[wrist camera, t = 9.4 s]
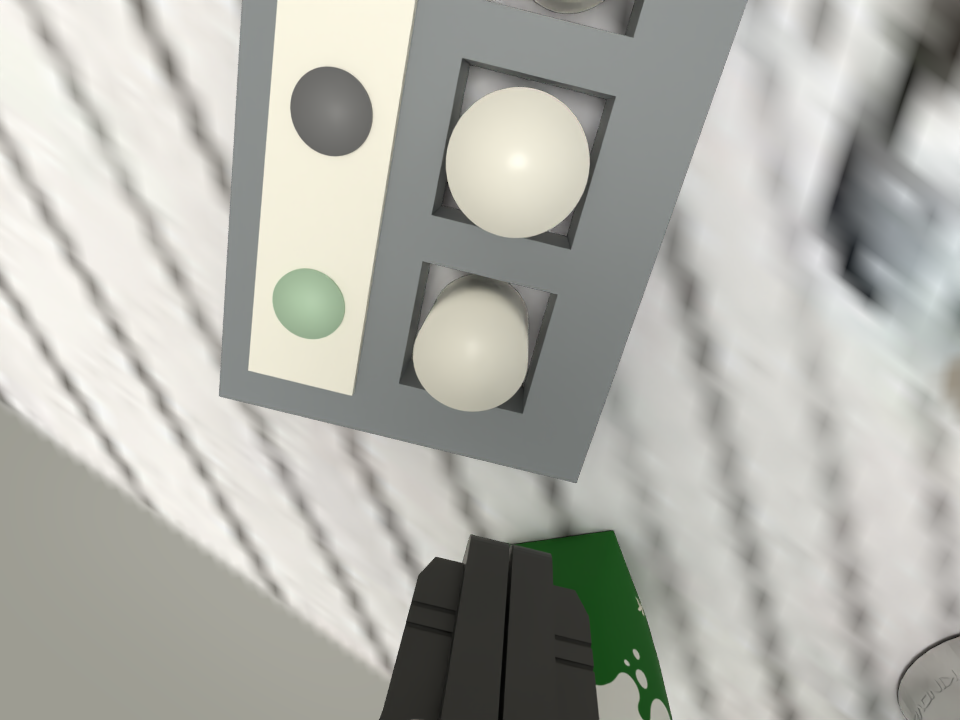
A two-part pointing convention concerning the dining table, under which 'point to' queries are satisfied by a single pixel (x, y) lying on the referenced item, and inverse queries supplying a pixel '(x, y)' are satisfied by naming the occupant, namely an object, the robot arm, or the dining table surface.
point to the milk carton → (611, 625)
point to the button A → (473, 344)
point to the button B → (517, 162)
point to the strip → (326, 183)
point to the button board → (466, 247)
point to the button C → (568, 5)
